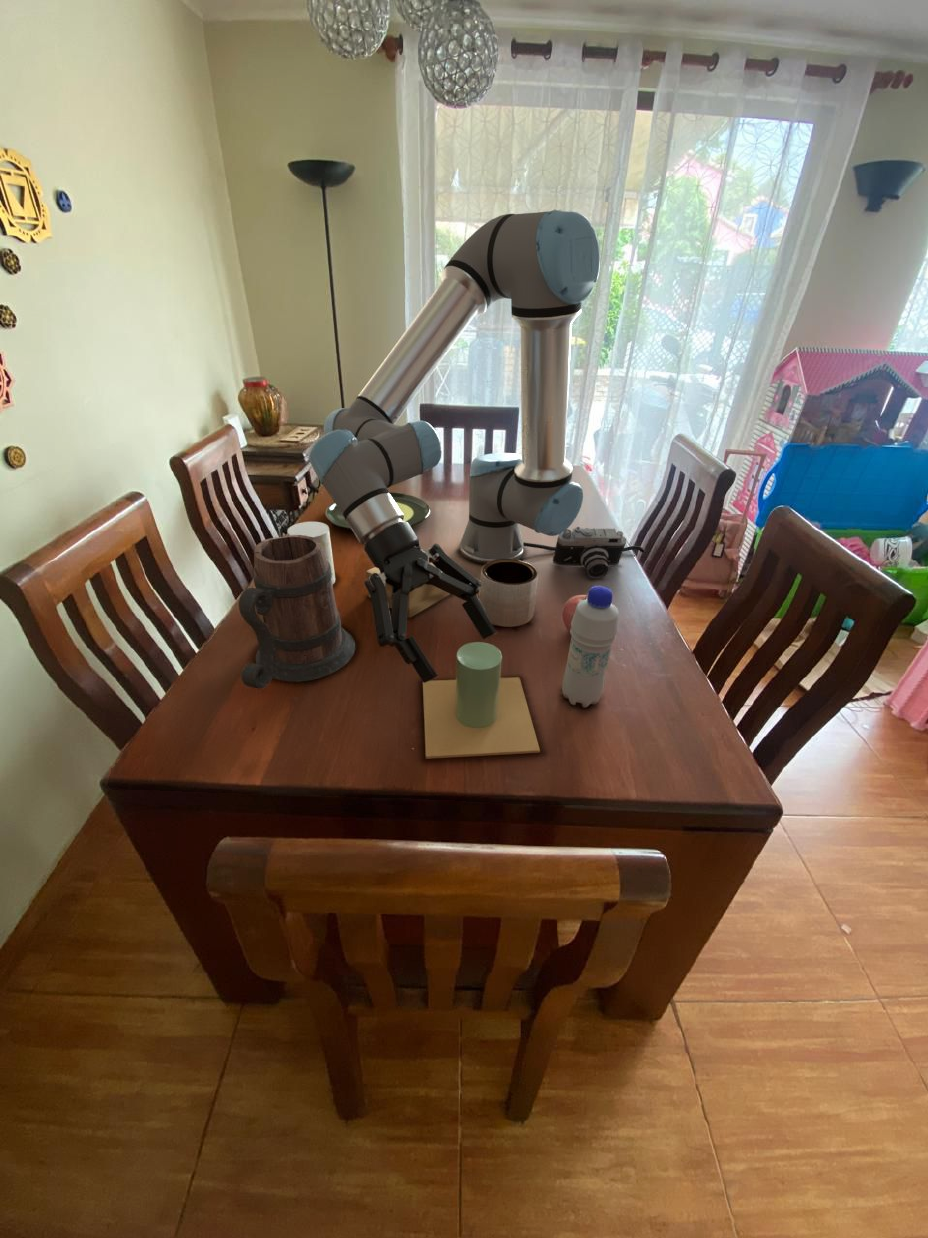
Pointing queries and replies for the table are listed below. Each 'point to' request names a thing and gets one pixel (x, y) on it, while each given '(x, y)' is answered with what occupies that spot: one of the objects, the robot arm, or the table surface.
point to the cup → (319, 533)
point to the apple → (571, 609)
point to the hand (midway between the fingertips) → (462, 656)
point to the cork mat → (459, 740)
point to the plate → (408, 504)
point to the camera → (590, 549)
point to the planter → (508, 592)
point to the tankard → (293, 613)
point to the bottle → (590, 647)
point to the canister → (477, 684)
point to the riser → (415, 595)
